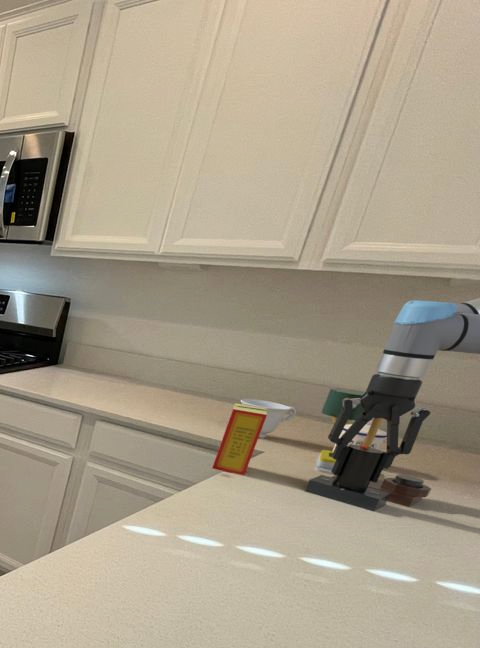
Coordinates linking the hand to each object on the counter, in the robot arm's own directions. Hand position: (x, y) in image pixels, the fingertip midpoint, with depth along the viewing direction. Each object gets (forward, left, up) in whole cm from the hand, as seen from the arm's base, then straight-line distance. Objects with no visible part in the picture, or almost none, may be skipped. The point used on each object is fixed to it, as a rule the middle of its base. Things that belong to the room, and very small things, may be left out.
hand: (353, 476), depth 132 cm
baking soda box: (+22, +2, -6) cm, 23 cm away
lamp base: (-2, -13, -5) cm, 14 cm away
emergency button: (+8, -27, -6) cm, 29 cm away
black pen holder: (0, 0, -2) cm, 2 cm away
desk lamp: (+6, -13, -1) cm, 14 cm away
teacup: (+32, -45, -6) cm, 55 cm away
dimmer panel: (0, 0, -5) cm, 5 cm away
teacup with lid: (+8, -42, -6) cm, 43 cm away
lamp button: (-6, -13, -2) cm, 15 cm away
